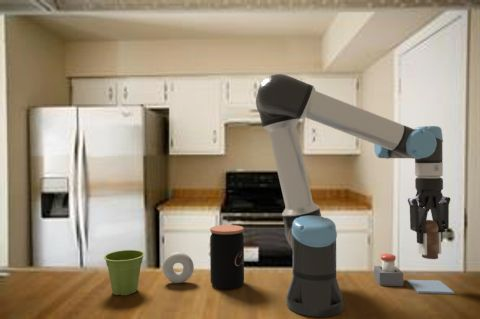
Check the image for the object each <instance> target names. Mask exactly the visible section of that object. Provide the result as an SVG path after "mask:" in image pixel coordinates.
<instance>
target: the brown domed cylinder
mask: <svg viewBox="0 0 480 319" xmlns="http://www.w3.org/2000/svg"><path fill="white" fill-rule="evenodd" d="M424 233H427V255H423V254H421V257H422V258H424V259H425V260H426V259H427V260H437V259H439V254H438V225H437V223H436V222H434V221H433V219H427V220H426V225H425V231H424Z"/></svg>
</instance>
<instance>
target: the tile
mask: <svg viewBox="0 0 480 319" xmlns="http://www.w3.org/2000/svg"><path fill="white" fill-rule="evenodd" d="M406 283H408V284H409V286H411V288H413V290H414V291H416V292H417V293H418V294H438V295H455V291H454V290H452V289H451V288H450V287H449V286H447V285H446V284H445V283H444V282H442V281H441V280H431V279H430V280H429V279H406Z"/></svg>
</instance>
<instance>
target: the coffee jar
mask: <svg viewBox="0 0 480 319" xmlns="http://www.w3.org/2000/svg"><path fill="white" fill-rule="evenodd" d="M209 230H210V231H209V232H210V233H211V235H210V237H209V238H210V239H209V243H210V244H209V246H210V247H209V256H210V257H209V258H210V260H209V261H210V269H209V270H210V271H209V272H210V283H211V286H212V287H213V286H214V287H213V288H215V287H216V288H215V289H217V288H218V290H221V289H222V291H231V289H232V290H236V288H237V289H238V288H239V289H240V288H241V287H242V286H243V284H244V282H245V238H244V237H245V236H244V234H243V232H244V226H241V225H235V224H223V225H222V224H220V225H214V226H212V227H209Z"/></svg>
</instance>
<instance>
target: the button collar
mask: <svg viewBox="0 0 480 319" xmlns="http://www.w3.org/2000/svg"><path fill="white" fill-rule="evenodd" d="M373 270H374V271H373V278H374V280H375V281H376V282H377V284H378V285H379V286H385V287H404V273H403V272H402V270H401V269H400V268H398V267H397V266H395V272H384V271H382V265H374V266H373Z"/></svg>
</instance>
